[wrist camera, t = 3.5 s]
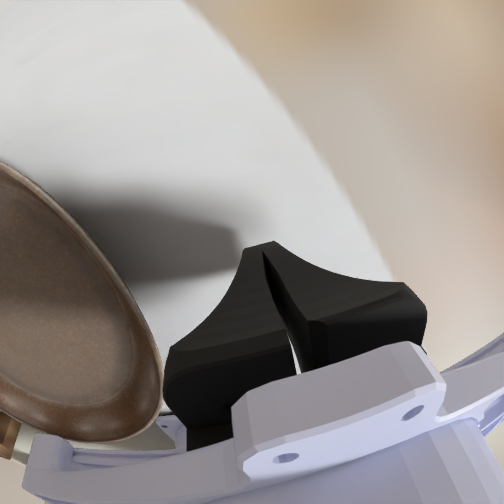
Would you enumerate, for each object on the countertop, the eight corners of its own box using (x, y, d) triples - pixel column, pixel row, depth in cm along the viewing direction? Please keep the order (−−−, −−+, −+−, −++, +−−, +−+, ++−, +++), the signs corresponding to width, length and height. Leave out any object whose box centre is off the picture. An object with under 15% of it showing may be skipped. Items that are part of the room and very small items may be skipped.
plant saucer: (-94, 239, 9) (-116, 258, 6) (53, 54, 8) (11, 45, 5) (38, 415, 19) (30, 442, 16) (229, 381, 17) (234, 424, 14)
